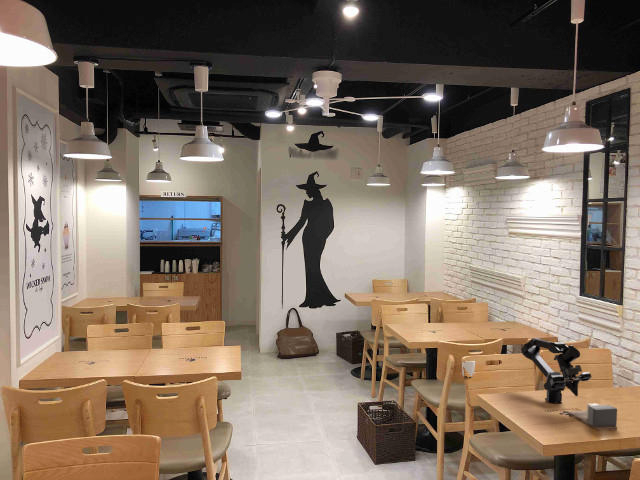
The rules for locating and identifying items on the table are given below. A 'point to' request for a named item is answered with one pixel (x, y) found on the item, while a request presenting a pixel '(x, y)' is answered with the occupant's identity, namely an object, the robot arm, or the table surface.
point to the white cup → (468, 367)
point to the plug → (590, 405)
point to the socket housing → (602, 415)
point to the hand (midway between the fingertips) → (576, 395)
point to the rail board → (583, 418)
